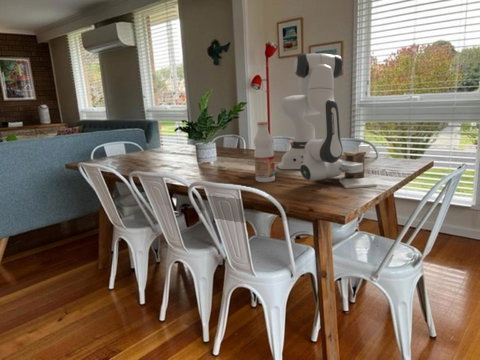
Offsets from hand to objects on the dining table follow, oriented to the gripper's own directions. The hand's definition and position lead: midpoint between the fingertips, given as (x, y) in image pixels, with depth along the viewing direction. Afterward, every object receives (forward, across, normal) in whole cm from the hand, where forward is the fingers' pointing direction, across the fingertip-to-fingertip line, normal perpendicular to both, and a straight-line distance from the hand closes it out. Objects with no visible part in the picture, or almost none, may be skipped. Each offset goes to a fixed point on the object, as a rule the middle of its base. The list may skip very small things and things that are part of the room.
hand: (355, 163), depth 171 cm
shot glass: (+42, +36, +7) cm, 55 cm away
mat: (-9, -10, +7) cm, 15 cm away
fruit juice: (-36, +23, +7) cm, 43 cm away
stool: (-1, 0, +7) cm, 7 cm away
